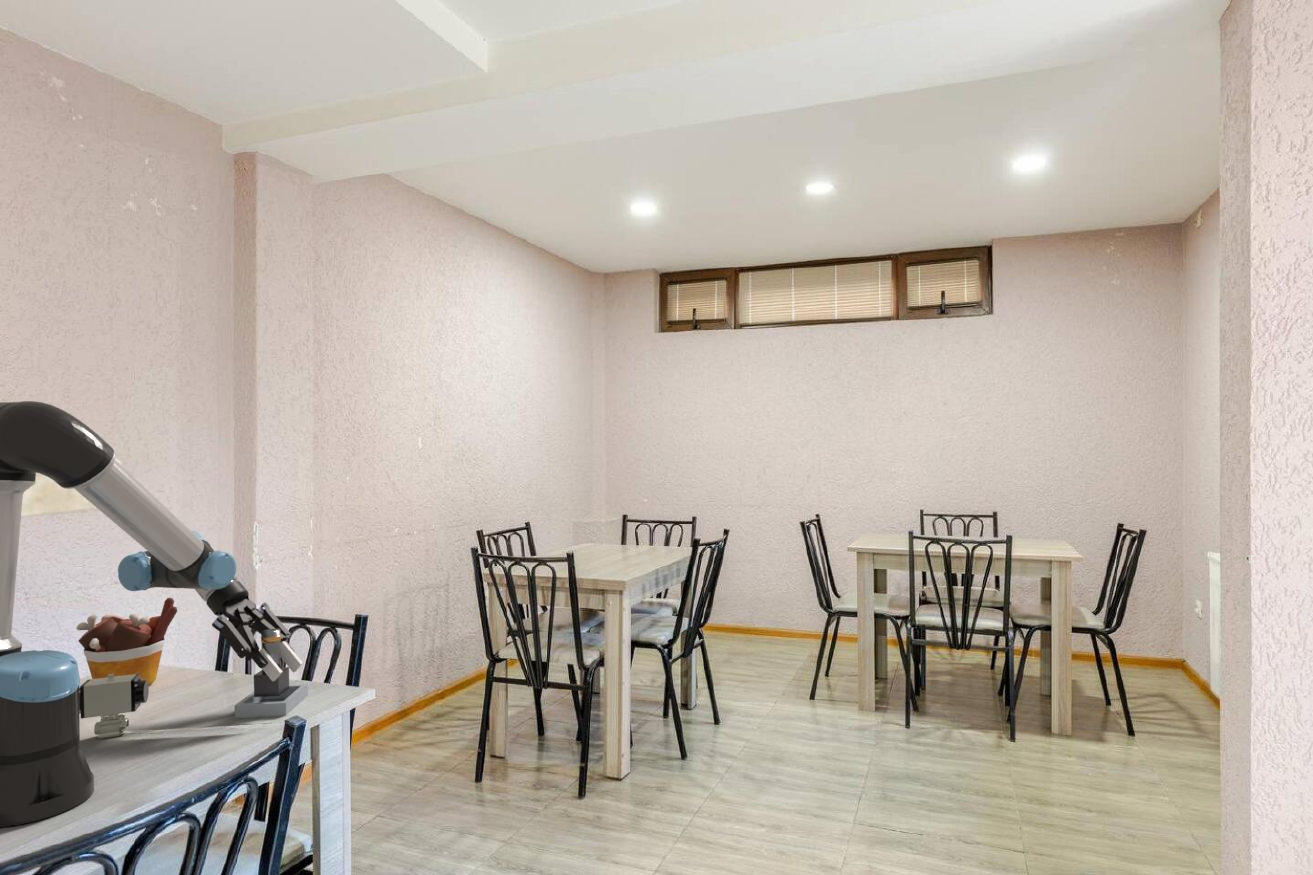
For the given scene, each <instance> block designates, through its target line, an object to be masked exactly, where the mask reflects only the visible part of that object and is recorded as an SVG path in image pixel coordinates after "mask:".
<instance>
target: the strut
mask: <svg viewBox="0 0 1313 875" xmlns="http://www.w3.org/2000/svg"><path fill="white" fill-rule="evenodd" d="M260 643H261V649H263V648H264V649H265V651H266V652H267V653H268V654H269V655H270V657H271V658H272V659H273V660H274V662H275V663H276V664H277V665H278V667H279V668H280V669H281V670H282V671H283V672H282V673H281V674H280V676H279V677H278V678H277V679H276V680H275V681H273V682H272V680H271V679H270V678H269V677H268V675H267V674H266V673H265V672H264V670H263V669H262V668H261V669H260V670H259V671H258V672H257V673H255V674H254V675H253V691H254V697H270V696H280V695H281V694H282V693H284V692H285V691H286V690H288V689H289V685H290V668H289V667H288V666H287V667H286V666H285V667H283V666H282V658H281V634H280V629H268V630H264V631H262V632H261V634H260Z"/></svg>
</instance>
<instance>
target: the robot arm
mask: <svg viewBox="0 0 1313 875" xmlns="http://www.w3.org/2000/svg"><path fill="white" fill-rule="evenodd" d="M115 457H116V452H115V448H113V447H112V446H111V445H109V443H108V442H106V441H105V440H104V439H103V438H102V437H101V436H100V435H99V434H98V433H97V432H95V431H94V430H93V429H92V428H91V427H89V426H88V425H87V424H86V423H84V422H82V421H81V420H80V419H78V418H77V417H75V416H74V415H72V414H71V413H69V412H68V411H65V410H63V409H62V408H60V407H57V406H55V405H52V404H49V403H45V402H42V401H41V402H40V401H35V400H34V401H33V400H32V401H31V400H25V401H24V400H23V401H13V402H12V401H11V402H10V401H9V402H8V401H7V402H4V401H3V402H2V401H1V402H0V828H4V827H12V826H11V825H14V826H19V825H24V823H25V824H28V823H32V822H37V821H41V820H43V819H44V820H45V819H48V818H49V817H53V816H56V815H59V814H61V813H64V812H66V811H69V810H72V809H73V808H76V807H77V806H79V805H80V804H82V803H84V802H85V801H86V800H88V799H89V798H90V797H91V796H92V795H93V794H94V792H95V777H94V774H93V772H92V771H91V768H90V766H89V763H88V761H87V759H86V756H85V754H84V751H83V750H82V748H81V734H80V730H81V729H80V727H81V726H80V714H79V688H80V684H81V677H80V671H79V665H78V660H76V658H75V657H74V656H73V655H71V654H69V653H67V652H64V651H59V650H50V649H44V650H36V649H35V650H23V651H22V647H23V643H22V642H21V641H20V640H19V639H17V638H16V637H14V636H13V634H12V632H13V631H12V628H13V615H14V607H15V606H14V604H15V594H16V593H15V592H16V583H17V580H16V579H17V571H18V570H17V568H18V555H19V544H20V532H21V521H22V520H21V519H22V510H23V509H22V507H23V498H24V494H25V492H26V491H28V490H29V489H31V487H33V486H34V485H35V484H36V478H37V477H36V475H37V474H40V475H42V476H45V477H47V478H49V479H50V480H52V481H54V482H55V483H56V484H57V485H59V487H60V488H63V489H66V490H70V489H74V490H75V491H76V492H77V493H78V494H80V495H81V496H82V497H83V498H84V499H86V500H87V501H88V502H89V503H90V504H92V506H94V507H95V508H96V509H98V510H99V511H100V512H101V513H102V514H103V515H104V516H106V517H107V518H108V519H109V520H111V521H112V522H113V523H114V524H115V525H116V526H118V527H119V528H120V529H121V530H122V531H124V532H125V533H126V534H127V535H128V536H130V538H132V539H133V540H135V542H136V543H138V544H139V545H141V547H142V548H143V549H145V551H138V552H136V553H131V554H129V555H126V556H125V557H123V558H122V559H121V560H120V562H119V564H118V566H117V574H118V575H117V577H118V578H117V579H118V580H119V583H120V585H121V586H122V587H123V588H124V589H126V590H127V591H129V592H139V591H148V590H149V589H153V588H165V589H189V590H195V591H196V593H197V594H198V596H199V597H201V600H203V601H204V602H206V606H207V607H208V608H209V609H210V610H211V612H212V613H213V614H214V616H216V618H215V619H214V621H213V622H212V624H211V626H212V627H213V628H214V629H216V631H218V632H219V633H220V634H221V636H222V637H223V639H225V641H226V642H227V643H228V644H229V646H230V648H232V650H233V651H234V652H235V653H236V655H237V656H238V658H239V659H244V658H245V660H246V661H249V662H250V661H251V660H252V661H253V662H254V663H255V664H256V665H257V667H258V668H260V669H261V670H262V669H263V670H264V672H265V673H266V674H267V675H268V677H269V678H270V679H271V680H272V682H273V681H275V680H276V679H277V678H278V677H279V676H280V674H281V673H282V672H283V671H282V670H281V669H280V668H279V667H278V665H277V664H276V663H275V662H274V660H273V659H272V658H271V657H270V655H269V654H268V653H267V652H266V651H265V649H264V648H263V649H262V648H261V649H260V646H259V644H258V643H257V640H256V638H255V637H254V635H253V633H252V630H253V629H254V630H255V631H256V632H258V633H259V634H260V635H261V632H262V631H264V630H268V629H280V634H281V660H282V661H283V662H284V663H285V664H286V666H287V667H289V670H291V672H292V673H296V672H297V671H298V670H299V669H300V668H301V666H302V665H303V664H304V663H303V661H302V660H301V659H300V657H299V656H298V655H297V654H296V653H295V652H296V651H295V650H294V648H293V647H292V646H291V644H290V643H289V642H288V639H289V638H290V637H291V635H292V634H291V632H290V631H289V630H288V629H287V628H286V626H285V625H284V624H283V623H282V622H281V620H280V619H279V618H278V617H277V616H276V615H275V614H274V612H272V610H271V608H270V606H269V604H268V603H267V602H263V603H262V604H260V605H259V604H256V603H255V602H253V601H252V600H250V597H249V591H248V590H247V589H246V587H245V586H244V585H243V584H242V583H241V581H239V580H238V577H237V576H236V573H237V561H236V560H235V557H234V556H233V555H232V554H230V553H228V552H225V551H221V550H215V549H213V548H212V546H211V544H210V542H209V541H208V540H206V539H205V538H204V537H203V536H202V535H201V534H200V533H199V532H198V531H195V530H190V528H188V526H186V525H185V524H184V523H183V522H182V521H181V520H180V519H179V518H178V517H177V516H176V515H174V513H172V512H171V510H169V509H168V508H167V507H166V506H165V505H164V504H163V503H162V502H161V500H158V498H157V497H156V496H154V494H152V493H151V492H150V491H149V490H148V489H147V488H146V487H145V486H144V485H143V484H142V483H140V482H139V480H137V479H136V478H135V477H134V476H133V475H132V474H131V473H130V472H129V471H128V470H127V469H126V468H125V467H123V465H121V464H120V463H119V462H118V461H117V460H116V459H115Z"/></svg>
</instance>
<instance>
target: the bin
mask: <svg viewBox="0 0 1313 875" xmlns="http://www.w3.org/2000/svg"><path fill="white" fill-rule="evenodd" d="M308 696H309V686H308V684H307V683H306V684H304V683H303V684H302V683H301V684H289V689H288V690H286V691H285V692H284V693H282V694H281V695H280V696H270V697H254V690H253V691H252V692H251V693H250V694H248V695H247V696H245V697H244V698H242V699H241V700H240V701H239V702H237V703H236V704H234V719H243V718H244V719H245V718H247V719H248V718H261V717H262V718H263V717H264V718H265V717H281V716H282V717H283V716H287V715H289V714H290V712H292V711H293V710H294V709H295V708H296V707H297V706H298V705H300V703H301V702H303V701H304V700H305V699H306V698H307V697H308ZM278 699H279V700H281V699H284V700H283V701H271V702H270V701H267V702H265V701H264V702H262V701H263V700H278ZM267 724H271V722H269V723H263V725H267ZM244 725H245V726H246V725H247V726H248V725H249V726H250V725H251V723H249V724H247V723H246V724H244Z"/></svg>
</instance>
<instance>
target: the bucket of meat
mask: <svg viewBox="0 0 1313 875" xmlns="http://www.w3.org/2000/svg"><path fill="white" fill-rule="evenodd" d="M174 604H175V600H174V598H173V597H167V598H166V599H165V600H164V603H163V605H162V606H163V607H162V609H161V612H160V615H158V616H152V617H150V618H148V616H143V617H141V618H140V617H139V615H138V614H136V613H132V614H131V613H130V615H128V616H129V617H128V618H125V617H122V616H118V615H113V614H109V615H107V614H106V615H104V616H102V617H101V620H100V622H98V623H97V619H98V615H97V614H92V615H90V616H88V617H87V618H86V620H87V621H86V622H85V621H83V622H80V623H79V624H78V625H77V626H76V630H77V631H86V632H85V633H84V634H83V635H82V636H81V637H80V638H79V639H78V643H79V644H80V645H81V646H82V648H83V650H82V651H83V654H84V656H85V660H86V662H87V666H88V669H89V674H90V675H91V679H99V678H107V677H108V674H114V677H116V676H125V675H133V674H140V678H142V680H147V681H148V685H149V686H151V685H152V684H153V683H154V682H155V681H156V680H157V675H158V671H159V667H160V662H161V658H162V653H163V647H164V645H165V640H166V639H165V636H166V633H167V632H168V628H169V626H170V625H171V622H172V621H173V620H174V617H175V616H176V614H177V613H178V607H176V606H175V605H174Z"/></svg>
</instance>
